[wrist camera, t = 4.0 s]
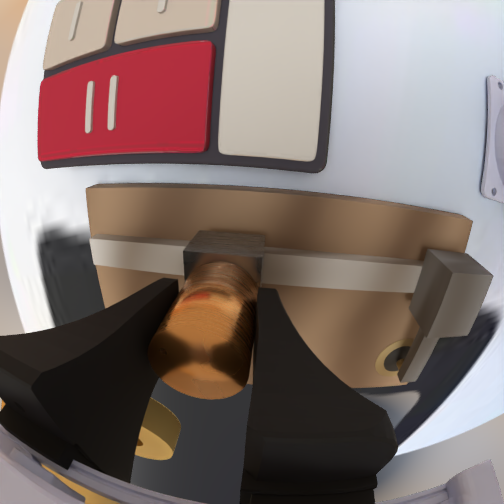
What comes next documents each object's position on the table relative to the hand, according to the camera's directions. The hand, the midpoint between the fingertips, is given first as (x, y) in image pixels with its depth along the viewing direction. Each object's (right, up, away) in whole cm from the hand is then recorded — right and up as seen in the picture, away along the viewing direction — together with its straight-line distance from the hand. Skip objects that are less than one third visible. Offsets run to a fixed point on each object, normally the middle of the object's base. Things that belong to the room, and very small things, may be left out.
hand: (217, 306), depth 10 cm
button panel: (-3, +12, +2) cm, 13 cm away
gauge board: (+3, -1, +6) cm, 7 cm away
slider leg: (0, -1, +4) cm, 5 cm away
